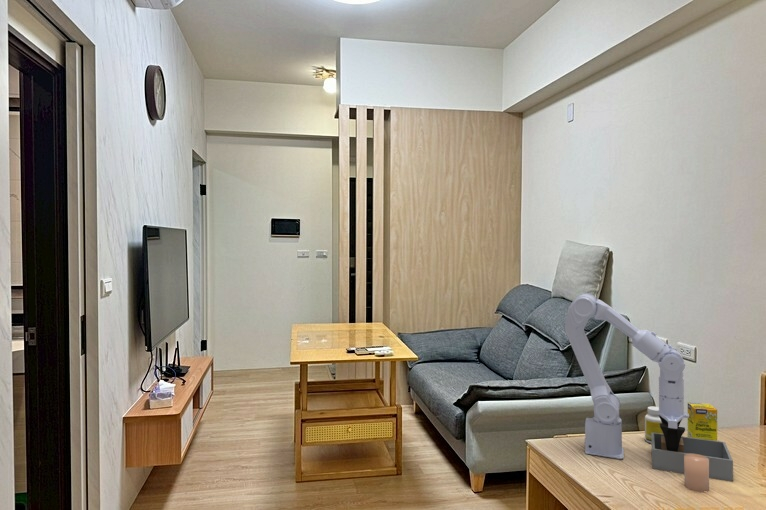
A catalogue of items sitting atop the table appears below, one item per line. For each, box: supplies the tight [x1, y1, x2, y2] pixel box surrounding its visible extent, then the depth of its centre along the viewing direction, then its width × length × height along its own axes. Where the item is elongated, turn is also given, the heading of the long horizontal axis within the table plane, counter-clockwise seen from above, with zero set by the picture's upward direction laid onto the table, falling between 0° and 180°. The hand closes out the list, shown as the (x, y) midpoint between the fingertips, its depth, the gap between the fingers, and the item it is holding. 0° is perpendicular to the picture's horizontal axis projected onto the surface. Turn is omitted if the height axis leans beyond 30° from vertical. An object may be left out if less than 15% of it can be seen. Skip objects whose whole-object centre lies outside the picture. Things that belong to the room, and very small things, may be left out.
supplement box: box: [687, 402, 718, 441], centre depth 148 cm, size 6×6×11 cm
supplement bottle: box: [644, 405, 663, 445], centre depth 149 cm, size 5×5×10 cm
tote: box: [651, 432, 734, 482], centre depth 134 cm, size 17×13×5 cm
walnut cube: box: [661, 436, 684, 453], centre depth 135 cm, size 5×5×5 cm
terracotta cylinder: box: [683, 453, 710, 493], centre depth 121 cm, size 5×5×7 cm
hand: (671, 447), depth 135 cm, fingers open, 7 cm apart
